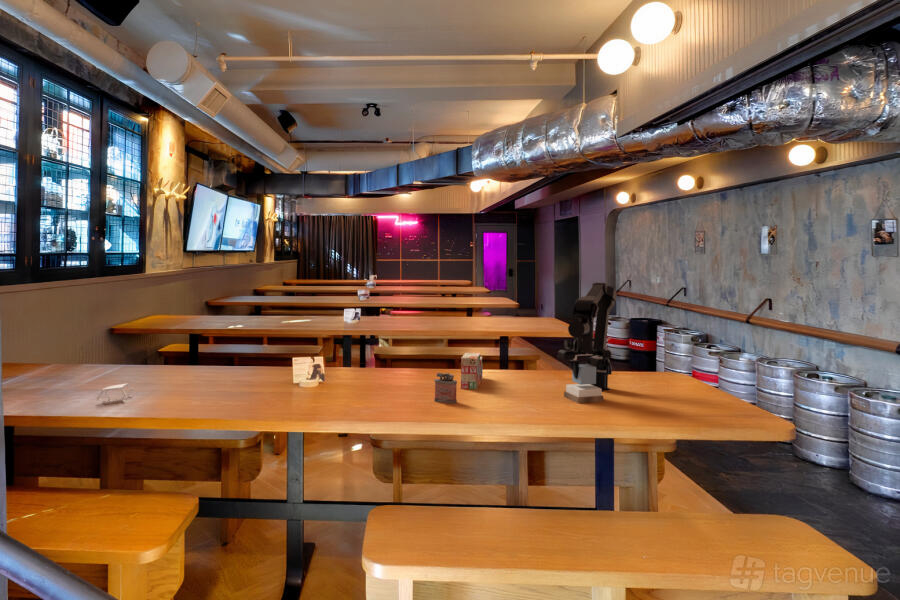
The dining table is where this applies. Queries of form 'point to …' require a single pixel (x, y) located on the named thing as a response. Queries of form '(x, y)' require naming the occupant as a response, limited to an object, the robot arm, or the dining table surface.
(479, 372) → the printed cardboard box
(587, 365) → the slate block
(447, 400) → the lighter
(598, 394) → the tower top
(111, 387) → the origami figure
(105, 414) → the dining table surface
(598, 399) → the tower bottom
